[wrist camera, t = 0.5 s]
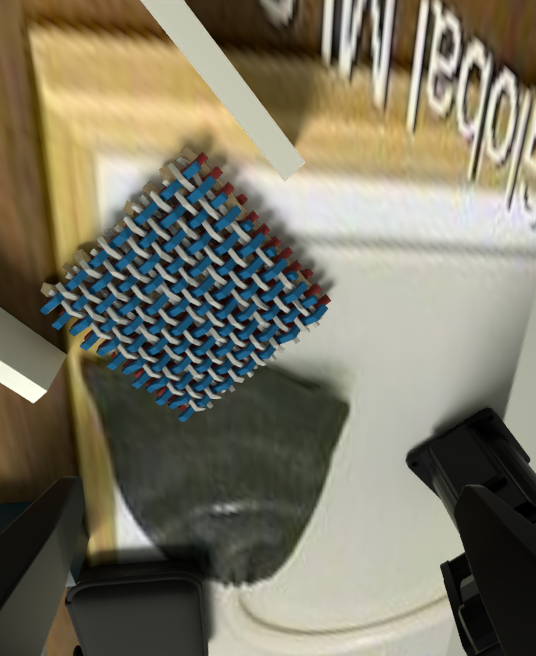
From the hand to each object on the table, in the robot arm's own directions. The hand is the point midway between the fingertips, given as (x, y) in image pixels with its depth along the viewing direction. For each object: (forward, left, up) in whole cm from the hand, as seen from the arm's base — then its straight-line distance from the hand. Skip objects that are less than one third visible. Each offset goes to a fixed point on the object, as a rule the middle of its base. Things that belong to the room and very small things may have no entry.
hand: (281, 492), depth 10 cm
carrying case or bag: (-16, +26, -13) cm, 33 cm away
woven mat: (+1, +3, -14) cm, 14 cm away
